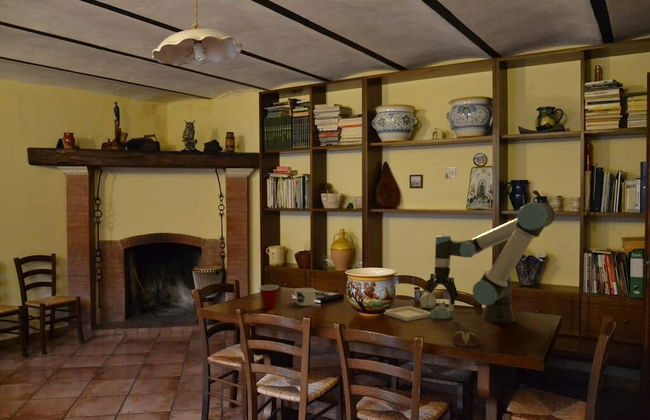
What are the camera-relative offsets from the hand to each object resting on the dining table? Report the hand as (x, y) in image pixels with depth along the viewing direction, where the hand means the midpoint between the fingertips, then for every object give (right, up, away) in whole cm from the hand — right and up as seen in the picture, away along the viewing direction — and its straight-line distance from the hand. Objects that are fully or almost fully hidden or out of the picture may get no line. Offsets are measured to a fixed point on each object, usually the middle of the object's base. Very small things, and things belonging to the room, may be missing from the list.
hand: (441, 307), depth 261 cm
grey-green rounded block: (-1, -5, -1) cm, 5 cm away
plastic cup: (-90, -4, +19) cm, 92 cm away
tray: (-16, -5, +3) cm, 17 cm away
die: (-2, -4, +21) cm, 21 cm away
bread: (+1, -7, -44) cm, 45 cm away
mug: (-71, -4, +31) cm, 78 cm away
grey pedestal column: (0, -5, 0) cm, 5 cm away
